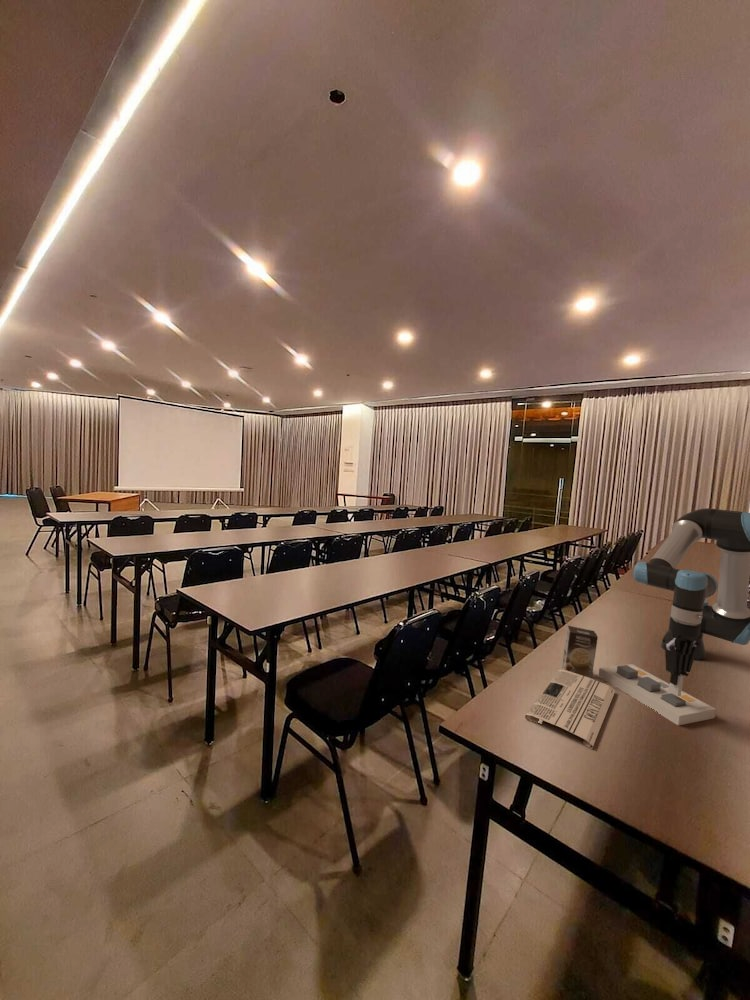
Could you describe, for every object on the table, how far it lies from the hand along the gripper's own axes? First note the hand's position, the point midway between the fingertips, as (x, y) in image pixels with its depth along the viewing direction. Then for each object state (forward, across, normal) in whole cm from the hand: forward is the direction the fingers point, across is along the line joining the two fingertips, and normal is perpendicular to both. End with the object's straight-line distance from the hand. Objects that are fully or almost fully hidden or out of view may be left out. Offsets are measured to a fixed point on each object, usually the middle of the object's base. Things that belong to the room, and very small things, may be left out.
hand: (674, 693), depth 126 cm
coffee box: (+6, -13, +25) cm, 29 cm away
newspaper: (+6, -30, +8) cm, 32 cm away
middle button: (+4, 0, +8) cm, 9 cm away
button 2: (+5, 0, 0) cm, 5 cm away
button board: (+6, +2, +8) cm, 10 cm away
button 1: (+4, 0, +16) cm, 16 cm away
